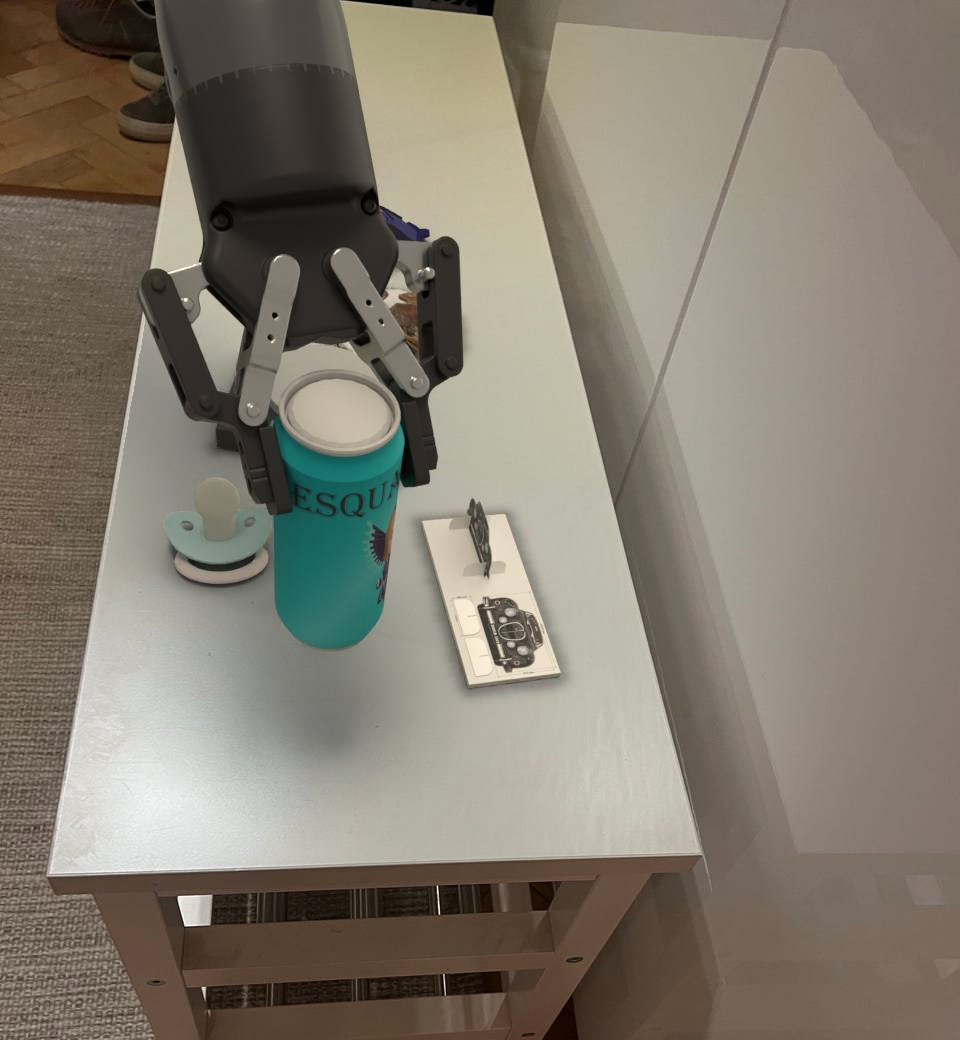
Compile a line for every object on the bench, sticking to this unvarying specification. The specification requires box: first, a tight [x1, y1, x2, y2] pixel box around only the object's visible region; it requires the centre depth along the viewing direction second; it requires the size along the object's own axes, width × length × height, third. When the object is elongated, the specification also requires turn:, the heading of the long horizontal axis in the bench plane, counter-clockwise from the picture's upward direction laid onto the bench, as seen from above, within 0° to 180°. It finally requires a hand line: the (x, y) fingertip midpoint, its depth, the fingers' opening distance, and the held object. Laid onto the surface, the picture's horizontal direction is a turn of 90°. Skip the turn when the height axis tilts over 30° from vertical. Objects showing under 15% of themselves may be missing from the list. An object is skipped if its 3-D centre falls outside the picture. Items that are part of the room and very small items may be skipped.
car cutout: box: [420, 497, 562, 689], centre depth 70 cm, size 15×7×4 cm, turn 14°
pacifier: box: [163, 476, 273, 585], centre depth 68 cm, size 7×6×6 cm
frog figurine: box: [337, 287, 419, 362], centre depth 87 cm, size 12×12×4 cm
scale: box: [215, 344, 379, 452], centre depth 79 cm, size 14×11×3 cm
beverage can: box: [272, 369, 404, 653], centre depth 48 cm, size 6×6×15 cm
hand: (350, 497), depth 44 cm, fingers closed on beverage can, 5 cm apart
